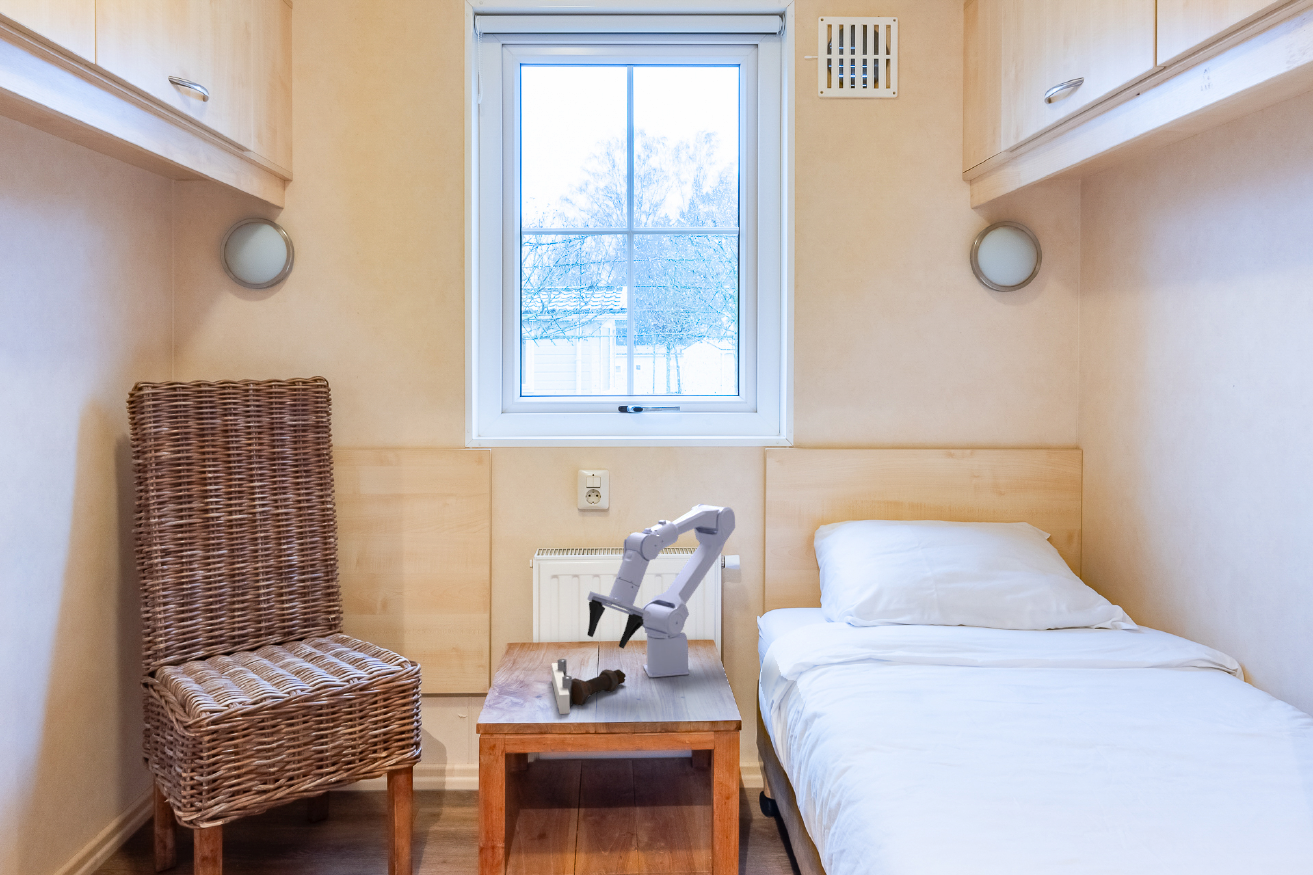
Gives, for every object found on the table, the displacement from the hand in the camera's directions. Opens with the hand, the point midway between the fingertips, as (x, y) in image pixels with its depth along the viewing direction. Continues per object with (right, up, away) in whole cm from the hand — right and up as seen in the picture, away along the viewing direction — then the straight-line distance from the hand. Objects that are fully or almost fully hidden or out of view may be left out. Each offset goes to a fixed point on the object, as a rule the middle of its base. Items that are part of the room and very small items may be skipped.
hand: (605, 641), depth 180 cm
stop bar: (-10, -11, -2) cm, 15 cm away
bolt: (-1, -12, 0) cm, 12 cm away
